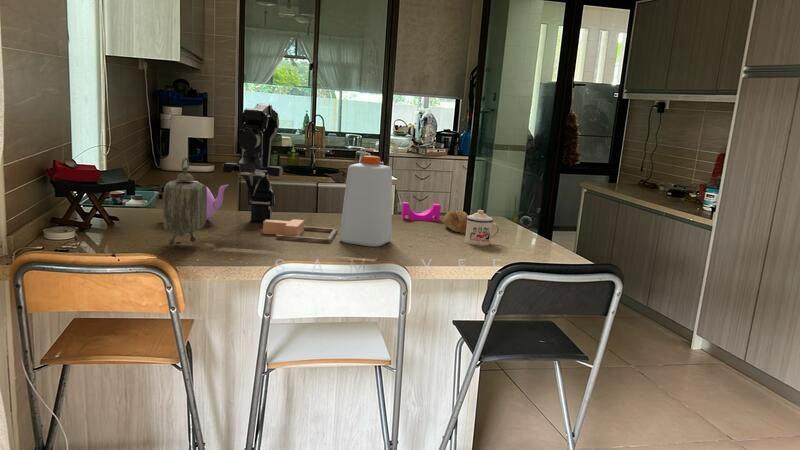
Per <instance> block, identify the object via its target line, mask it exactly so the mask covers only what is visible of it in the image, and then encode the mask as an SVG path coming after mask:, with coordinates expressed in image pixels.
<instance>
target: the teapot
mask: <svg viewBox="0 0 800 450" xmlns="http://www.w3.org/2000/svg"><path fill="white" fill-rule="evenodd" d="M191 182H199V181H198V180H194V181H191ZM228 186H229V184H223V185H220V187H219V188H218V191H217V197H216V198H215V197H214V195H213V194H212V191H211V190H210V188H209V187H208V186H206V188H207V214H206V221H207V220H210V218H212V217H213V216H214V215H215V213H216V212H217V210H218V209H219V208H220V207H221V206H222V203H223V201H224V191H225V189H226V188H227V187H228Z"/></svg>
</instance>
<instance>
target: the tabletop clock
mask: <svg viewBox="0 0 800 450" xmlns="http://www.w3.org/2000/svg"><path fill="white" fill-rule="evenodd" d="M185 161H186V163H187V166H184V164H185ZM189 168H190V159H189V158H188V157H184V158H183V159H182V161H181V171H182V173H179V174H177V177H176V178H175V180H170V181H169V182H167V183H166V184H165V186H164V187H163V202H162V214H163V215H162V216H163V217H162V219H163V220H162V221H163V222H162V223H163V230H164V231H165V232H174V233H173V236H172V238H170V239H168V244H169V246H172V245H174V244H175V239H176V237H179V238H183V237H184V236H185V233H189V235H190V238H189V241H190V242H191V243H194V242H196V237H195V236H194V235H193V234H194V232H197V231H199V230H200V229H203V227H204V226H205V225H206V224H207V220H206V214H207V188H206V187H207V186H206V185H205V184H203V183H202V182H199V181H198V182H191V181H195V178H194V176H193V175H192V174H191V173H188V171H189Z"/></svg>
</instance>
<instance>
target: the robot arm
mask: <svg viewBox="0 0 800 450" xmlns="http://www.w3.org/2000/svg"><path fill="white" fill-rule="evenodd" d="M279 118H280V117H279V114H278V112H277V111H276V110H275V109H274V108H273V105H272V104H270V103H265V102H258V103H256V106H255V107H254V108H244V110H243V111H241V116H240V122H239V128H238V129H239V130H242V131H243V132H242V133H240V135H239V137H238V139H237V141H238V144H239V146H240V147H241V148H242V149H243V153H242V154H243V155H242V157H241V159H240V160H239V161H238V162H225V163H224V164H222V166H221V172H222V173H228V174H230V173H231V174H232V173H233V172H240V174H239V177H242V178H243V179H244V181H245V183H246V186H247V204H248V206H250V207H251V209H250V210H251V211H250V220H249V223H254V224H255V223H256V224H263V221H265V220H266V219H267V220H273V219H272V217H273V216H272V215H273V209H272V208H271V207H275V203H276V198H275V193H274V191H273V187H272V185H271V182H270V180H269V176H270V177H281V176H284V175H283V174H284V169H283V167H282V166H278V165H270V163H271V162H270V161H271V150H272V141H273V139H274V138H275V137H276V136H277V133H278V129H279V127H280V119H279Z"/></svg>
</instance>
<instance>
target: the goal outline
mask: <svg viewBox="0 0 800 450" xmlns="http://www.w3.org/2000/svg"><path fill="white" fill-rule="evenodd" d="M304 231H309V232H321V233H322V232H323V233H330V234H329V235H328V236H327V238H323V237H311V236H310V237H309V236H301V235H300V236H287V235H277V234H275V240H283V241H293V242H294V241H296V242H309V243H322V244H330V243H332V242H333V241H332V240H333V239H334V238H335V236H337V233H338V228H333V227H318V226H306V225H304Z"/></svg>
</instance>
